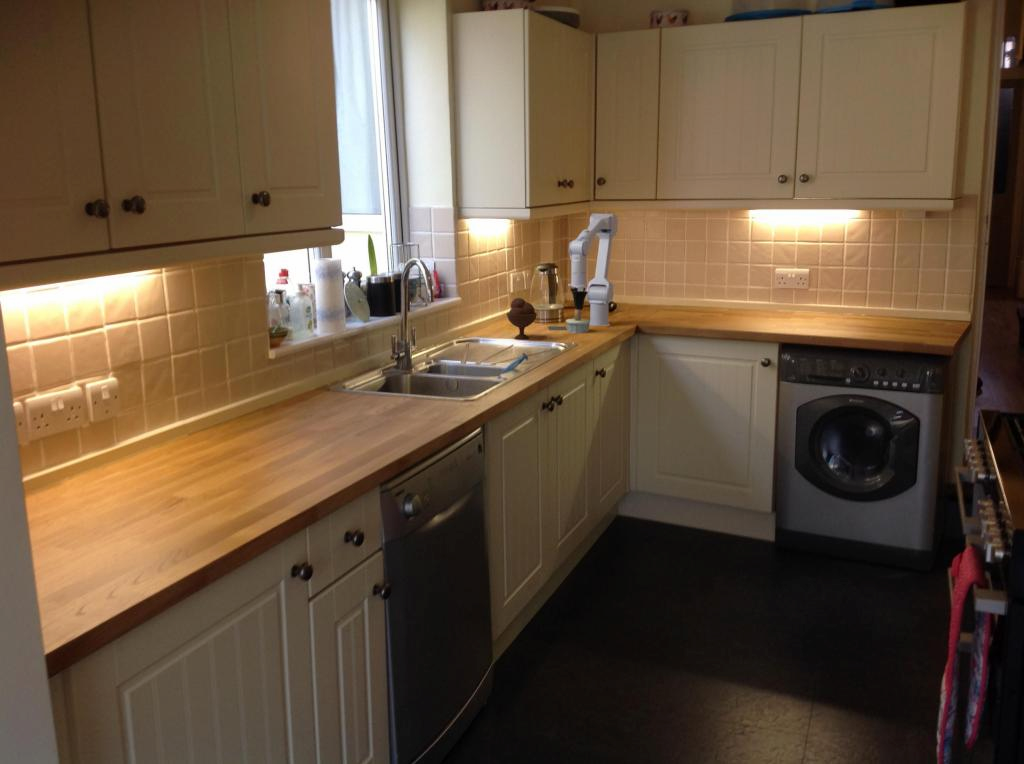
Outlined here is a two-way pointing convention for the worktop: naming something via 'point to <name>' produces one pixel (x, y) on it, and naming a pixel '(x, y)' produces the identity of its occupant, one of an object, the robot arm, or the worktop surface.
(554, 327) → the mat
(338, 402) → the worktop surface
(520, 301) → the ice cream bowl
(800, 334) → the worktop surface
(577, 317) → the lid
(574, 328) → the bowl
